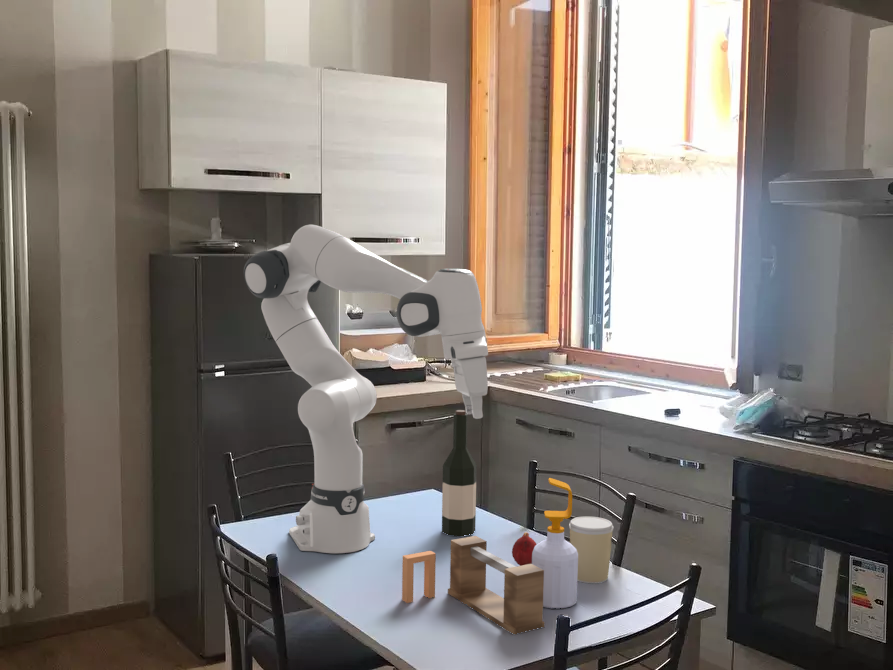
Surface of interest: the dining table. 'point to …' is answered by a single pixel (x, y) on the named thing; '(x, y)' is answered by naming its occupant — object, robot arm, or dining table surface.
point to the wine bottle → (459, 483)
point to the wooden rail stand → (469, 587)
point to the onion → (523, 550)
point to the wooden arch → (408, 573)
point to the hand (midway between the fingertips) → (474, 416)
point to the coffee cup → (592, 547)
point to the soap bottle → (557, 559)
